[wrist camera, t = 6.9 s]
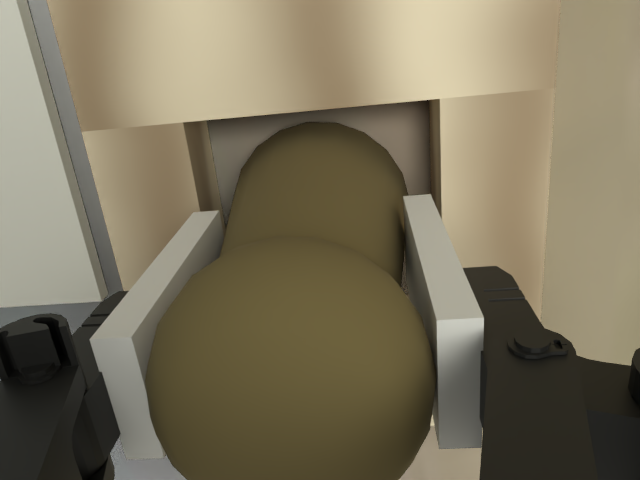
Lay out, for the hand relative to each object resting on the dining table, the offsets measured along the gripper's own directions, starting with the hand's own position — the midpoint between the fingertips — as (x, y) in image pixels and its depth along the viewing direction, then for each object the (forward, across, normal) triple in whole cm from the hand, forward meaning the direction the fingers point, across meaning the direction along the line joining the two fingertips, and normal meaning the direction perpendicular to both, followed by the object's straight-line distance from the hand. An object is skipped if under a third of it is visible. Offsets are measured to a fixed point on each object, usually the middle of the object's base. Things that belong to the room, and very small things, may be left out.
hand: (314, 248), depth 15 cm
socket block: (+4, 0, 0) cm, 4 cm away
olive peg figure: (+3, 0, 0) cm, 3 cm away
